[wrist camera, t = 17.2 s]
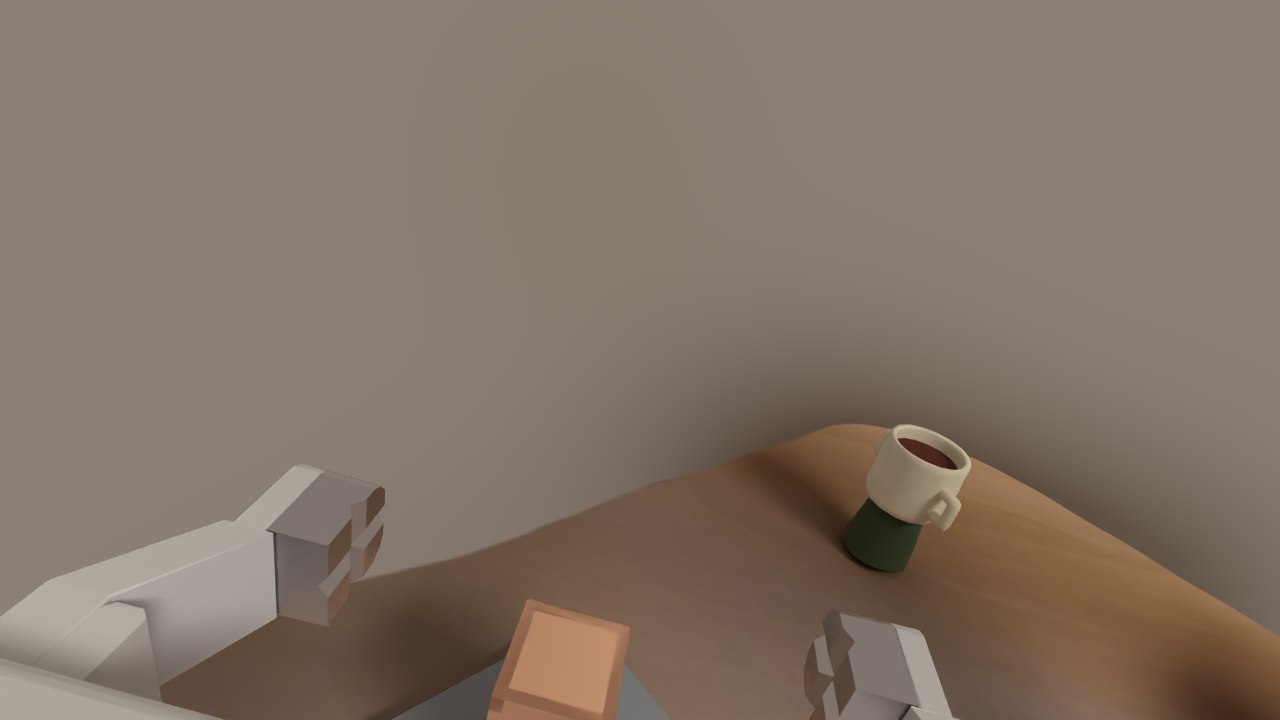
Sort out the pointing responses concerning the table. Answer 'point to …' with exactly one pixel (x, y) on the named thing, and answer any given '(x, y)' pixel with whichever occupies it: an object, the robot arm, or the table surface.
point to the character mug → (906, 495)
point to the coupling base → (465, 705)
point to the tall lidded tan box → (561, 667)
